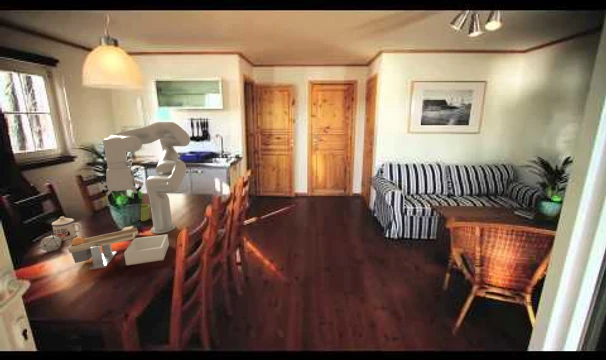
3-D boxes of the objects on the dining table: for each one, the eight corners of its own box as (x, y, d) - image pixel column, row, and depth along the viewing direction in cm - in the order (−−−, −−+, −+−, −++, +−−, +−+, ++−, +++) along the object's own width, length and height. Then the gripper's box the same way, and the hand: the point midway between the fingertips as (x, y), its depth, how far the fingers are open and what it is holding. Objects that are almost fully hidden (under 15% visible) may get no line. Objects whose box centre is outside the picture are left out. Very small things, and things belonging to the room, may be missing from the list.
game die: (49, 260, 125) (26, 249, 119) (57, 246, 132) (37, 235, 126) (64, 251, 125) (42, 239, 119) (72, 238, 132) (52, 226, 126)
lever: (90, 246, 126) (84, 232, 124) (145, 234, 132) (141, 221, 130) (73, 264, 111) (67, 248, 109) (136, 249, 117) (131, 234, 115)
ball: (77, 245, 115) (72, 237, 114) (87, 241, 116) (83, 233, 115) (73, 249, 111) (68, 241, 110) (83, 245, 112) (78, 237, 111)
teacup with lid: (51, 242, 135) (46, 221, 132) (60, 235, 144) (56, 215, 141) (79, 239, 139) (74, 218, 136) (86, 232, 147) (83, 212, 145)
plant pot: (130, 221, 163) (128, 207, 161) (145, 216, 171) (143, 203, 169) (139, 223, 159) (137, 210, 157) (154, 218, 167) (152, 205, 165)
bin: (135, 249, 128) (133, 238, 126) (168, 245, 132) (167, 234, 131) (126, 265, 114) (124, 252, 113) (163, 259, 118) (161, 247, 117)
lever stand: (101, 254, 123) (98, 236, 121) (116, 252, 125) (113, 234, 122) (89, 269, 111) (85, 249, 109) (106, 267, 113) (102, 247, 110)
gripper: (141, 162, 124) (147, 197, 128) (97, 165, 118) (105, 201, 122) (138, 165, 117) (144, 202, 121) (91, 168, 111) (99, 206, 115)
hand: (124, 201), depth 122 cm, fingers open, 9 cm apart
